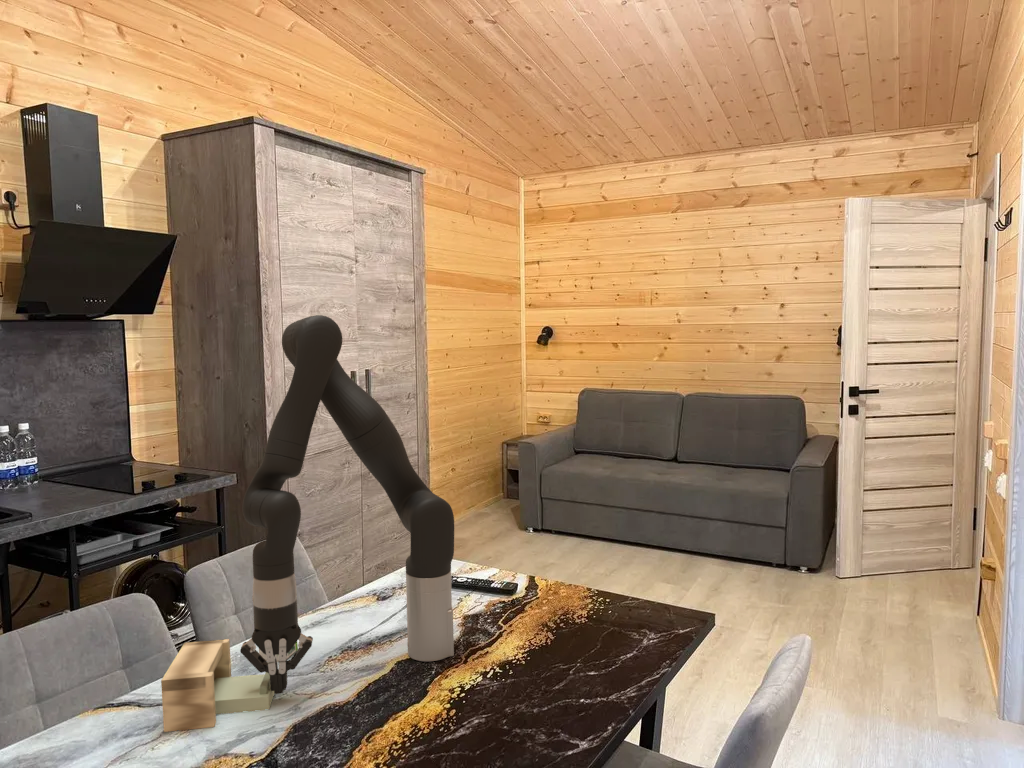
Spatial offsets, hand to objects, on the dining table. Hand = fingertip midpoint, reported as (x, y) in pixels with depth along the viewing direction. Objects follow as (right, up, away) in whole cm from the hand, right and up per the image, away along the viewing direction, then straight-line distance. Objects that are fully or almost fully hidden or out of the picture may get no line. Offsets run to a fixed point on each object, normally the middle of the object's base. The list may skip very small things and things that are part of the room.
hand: (279, 691), depth 135 cm
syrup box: (-6, 0, +19) cm, 20 cm away
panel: (-7, -2, +1) cm, 7 cm away
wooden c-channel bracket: (-14, -2, -2) cm, 14 cm away
